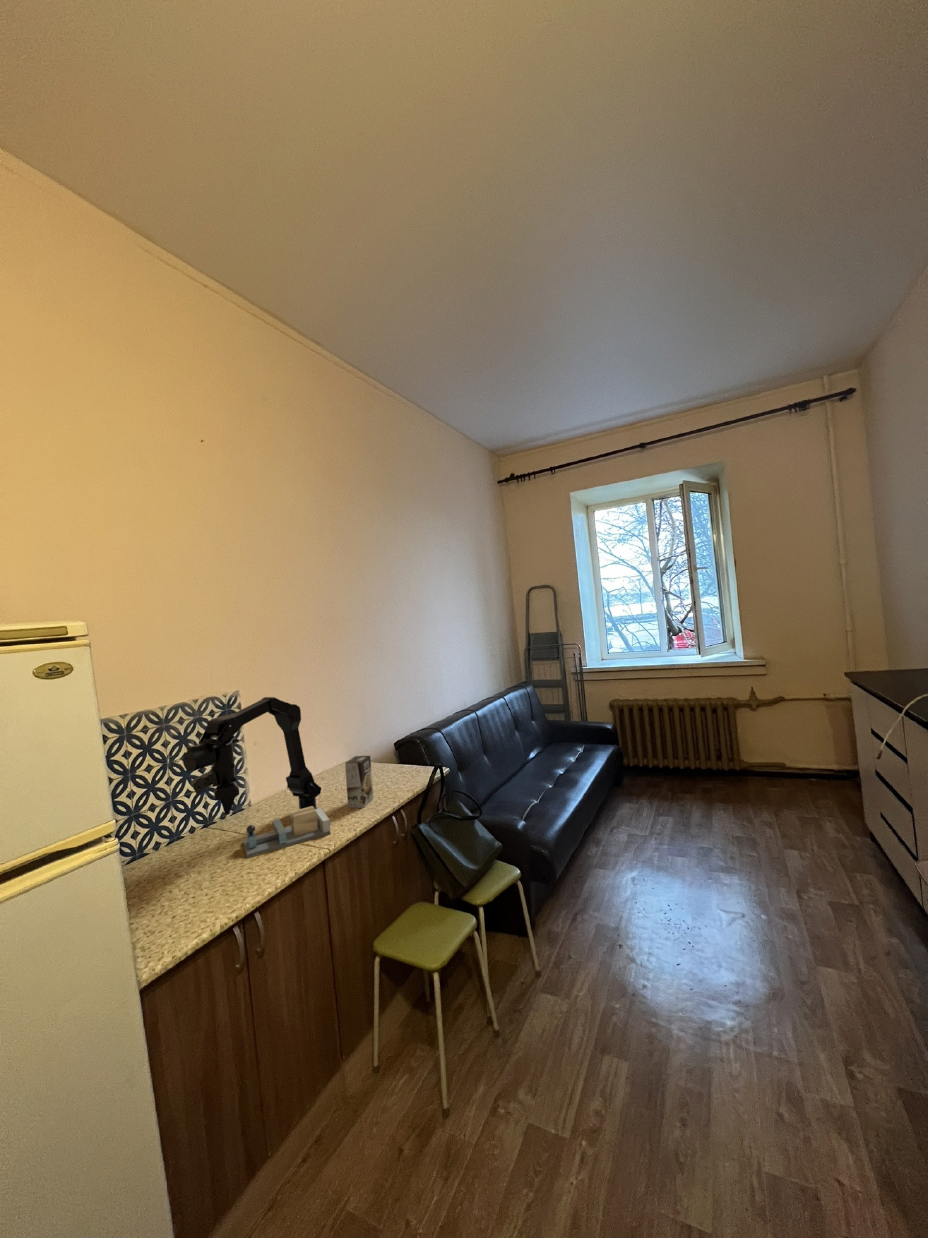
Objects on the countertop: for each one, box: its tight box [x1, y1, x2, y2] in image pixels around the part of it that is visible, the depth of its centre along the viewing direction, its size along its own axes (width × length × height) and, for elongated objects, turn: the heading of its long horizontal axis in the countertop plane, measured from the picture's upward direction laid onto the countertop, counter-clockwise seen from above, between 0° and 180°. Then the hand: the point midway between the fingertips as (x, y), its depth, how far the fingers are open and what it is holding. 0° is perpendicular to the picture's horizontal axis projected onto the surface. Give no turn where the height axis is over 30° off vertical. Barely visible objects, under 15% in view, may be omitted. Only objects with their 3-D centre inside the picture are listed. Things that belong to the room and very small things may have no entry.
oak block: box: [290, 806, 318, 836], centre depth 152 cm, size 5×7×6 cm
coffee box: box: [344, 755, 374, 809], centre depth 175 cm, size 9×6×16 cm
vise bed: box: [242, 807, 331, 859], centre depth 149 cm, size 12×24×4 cm, turn 120°
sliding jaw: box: [246, 818, 287, 848], centre depth 146 cm, size 12×10×6 cm
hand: (227, 813), depth 141 cm, fingers closed
